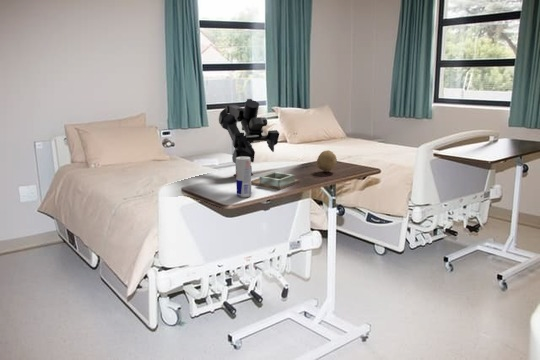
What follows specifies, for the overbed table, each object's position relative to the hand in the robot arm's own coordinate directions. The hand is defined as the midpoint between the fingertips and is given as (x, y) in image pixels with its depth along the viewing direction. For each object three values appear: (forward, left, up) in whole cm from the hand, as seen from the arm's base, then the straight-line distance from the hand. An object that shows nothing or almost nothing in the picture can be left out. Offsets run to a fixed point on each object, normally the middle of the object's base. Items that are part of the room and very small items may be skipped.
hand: (262, 151), depth 189 cm
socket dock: (-2, +11, -15) cm, 19 cm away
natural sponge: (+7, +40, -15) cm, 43 cm away
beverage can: (0, -12, -15) cm, 19 cm away
